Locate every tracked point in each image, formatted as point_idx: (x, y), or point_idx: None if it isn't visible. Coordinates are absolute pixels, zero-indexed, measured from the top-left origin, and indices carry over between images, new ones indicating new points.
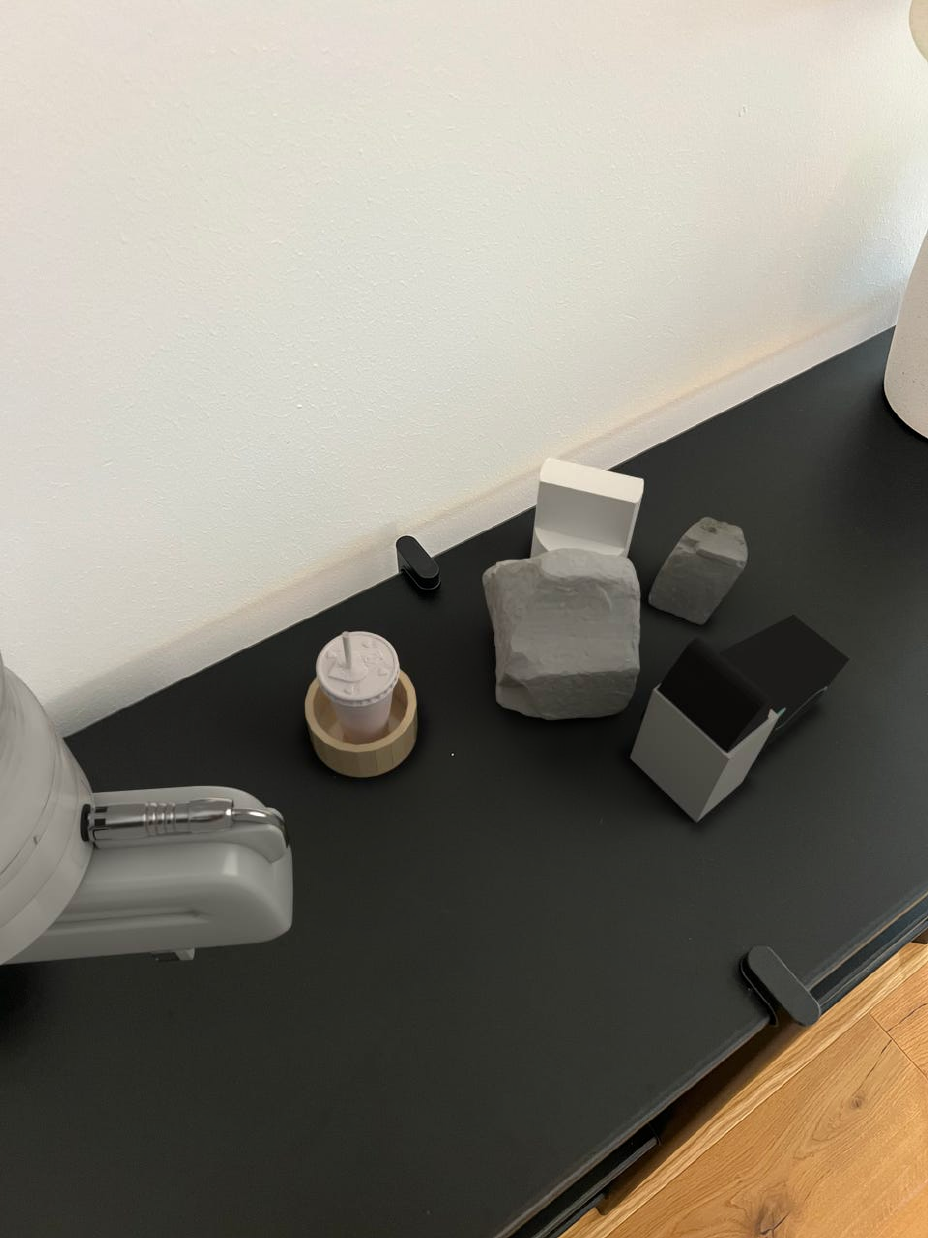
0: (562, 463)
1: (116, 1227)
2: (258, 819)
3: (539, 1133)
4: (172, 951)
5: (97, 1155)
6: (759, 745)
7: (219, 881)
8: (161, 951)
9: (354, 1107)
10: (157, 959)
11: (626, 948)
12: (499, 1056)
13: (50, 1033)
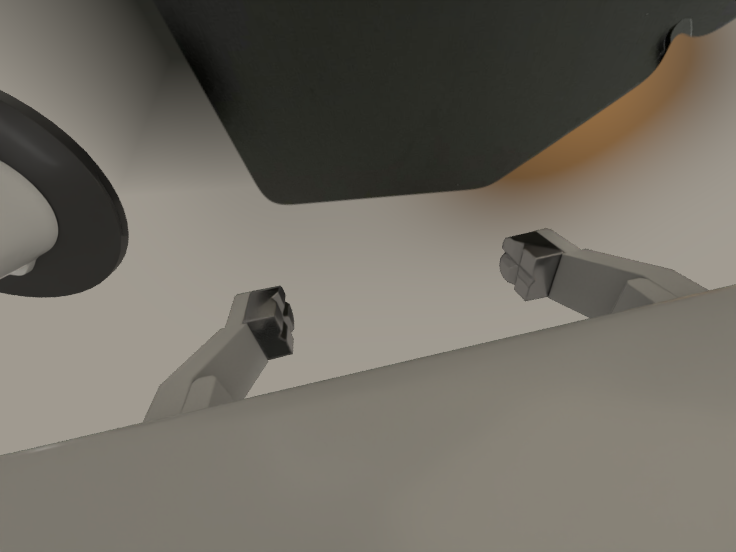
0: None
1: (317, 202)
2: None
3: (515, 146)
4: (552, 298)
5: (297, 173)
6: None
7: None
8: (537, 297)
9: (425, 140)
10: (512, 283)
11: (603, 24)
12: (505, 107)
13: (240, 108)
